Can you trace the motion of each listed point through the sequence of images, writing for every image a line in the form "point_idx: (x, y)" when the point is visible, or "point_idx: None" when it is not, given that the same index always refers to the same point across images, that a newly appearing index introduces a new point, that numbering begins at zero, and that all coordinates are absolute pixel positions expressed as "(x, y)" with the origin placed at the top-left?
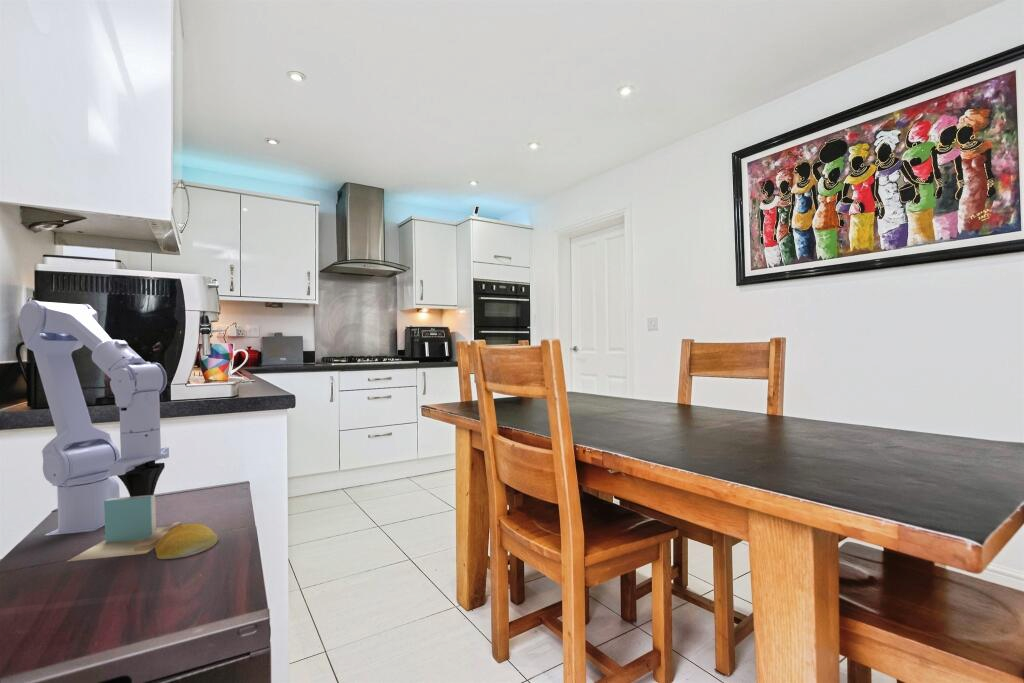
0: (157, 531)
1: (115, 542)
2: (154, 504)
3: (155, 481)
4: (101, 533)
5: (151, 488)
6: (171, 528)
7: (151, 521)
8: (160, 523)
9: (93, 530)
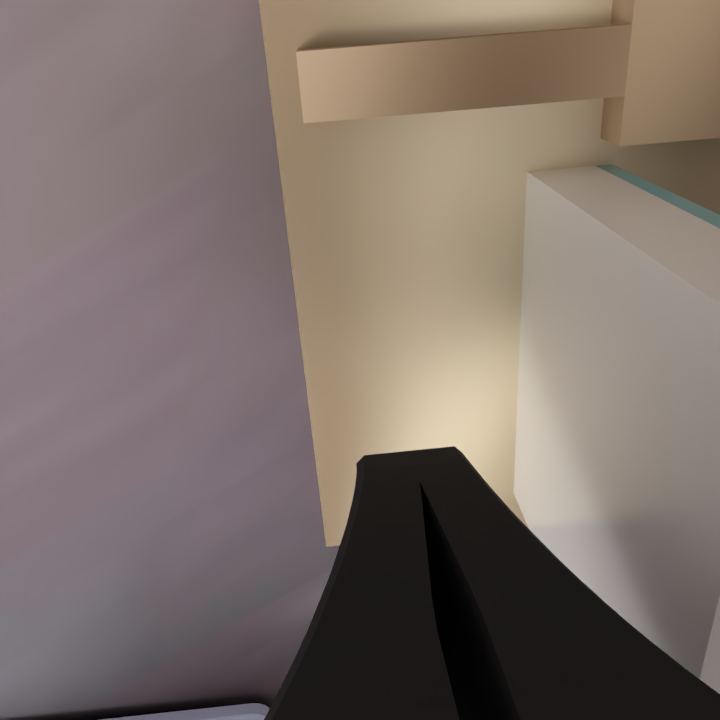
0: (418, 225)
1: None
2: (706, 273)
3: (377, 706)
4: (267, 658)
5: (481, 601)
6: (515, 33)
7: (682, 202)
8: (78, 392)
9: (262, 716)
